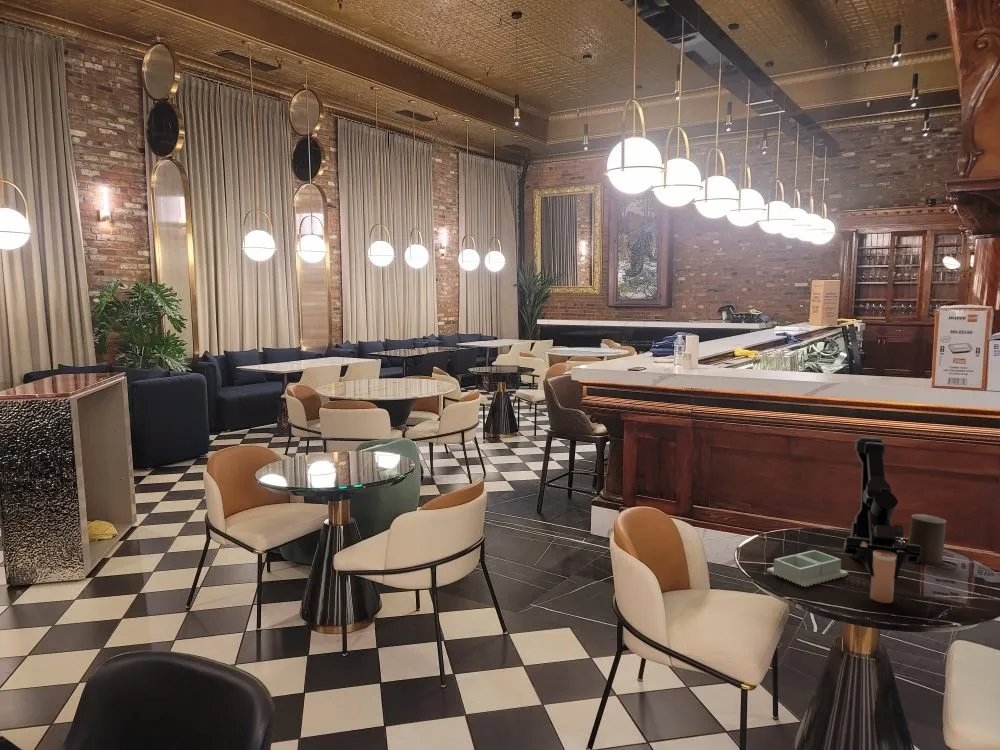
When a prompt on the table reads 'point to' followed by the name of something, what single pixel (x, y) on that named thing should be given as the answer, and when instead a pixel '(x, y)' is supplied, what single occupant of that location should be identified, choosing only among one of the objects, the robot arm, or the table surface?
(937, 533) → the pillar candle
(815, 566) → the compartment organizer
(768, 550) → the table surface
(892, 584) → the tumbler
